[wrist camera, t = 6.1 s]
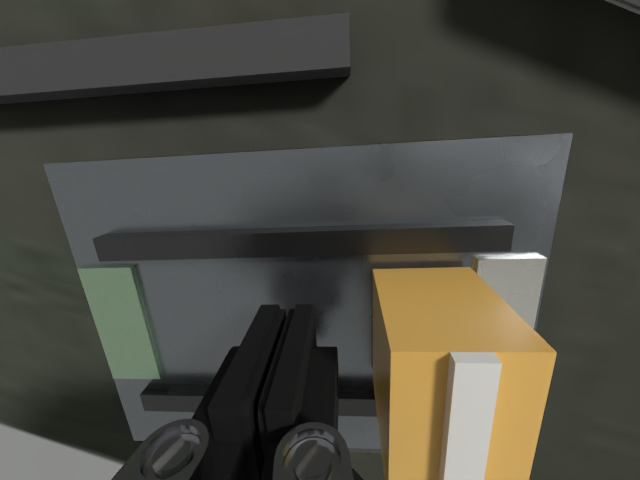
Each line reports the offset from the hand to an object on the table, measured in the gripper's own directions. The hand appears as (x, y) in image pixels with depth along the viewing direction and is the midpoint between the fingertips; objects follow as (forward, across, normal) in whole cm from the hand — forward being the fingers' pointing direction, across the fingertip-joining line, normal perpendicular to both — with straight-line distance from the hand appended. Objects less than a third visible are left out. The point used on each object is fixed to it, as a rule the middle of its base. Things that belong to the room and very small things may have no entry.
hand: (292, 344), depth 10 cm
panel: (+4, 0, 0) cm, 4 cm away
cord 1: (+4, +5, -9) cm, 11 cm away
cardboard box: (+1, -4, 0) cm, 4 cm away
